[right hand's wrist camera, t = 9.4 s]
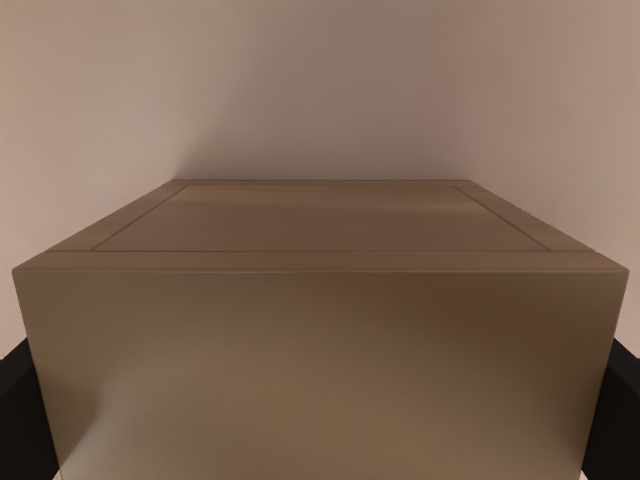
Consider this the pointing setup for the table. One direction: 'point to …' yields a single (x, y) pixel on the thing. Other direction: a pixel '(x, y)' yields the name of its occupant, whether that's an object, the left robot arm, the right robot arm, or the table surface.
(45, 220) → the table surface
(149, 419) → the cabinet
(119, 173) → the table surface
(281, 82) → the table surface
